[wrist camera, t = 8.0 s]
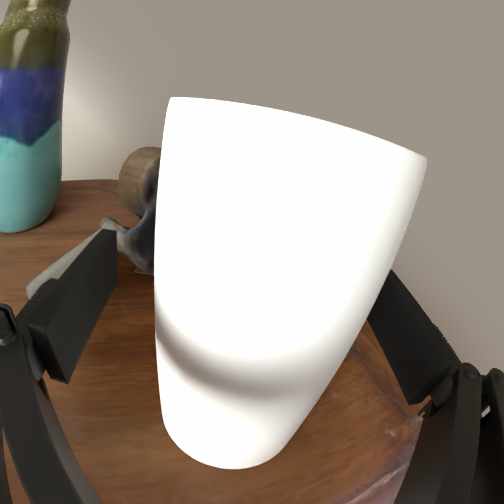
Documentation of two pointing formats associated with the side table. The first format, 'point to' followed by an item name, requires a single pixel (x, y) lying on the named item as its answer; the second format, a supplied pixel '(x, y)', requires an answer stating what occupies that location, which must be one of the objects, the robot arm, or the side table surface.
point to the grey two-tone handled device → (128, 240)
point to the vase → (31, 110)
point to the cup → (266, 267)
